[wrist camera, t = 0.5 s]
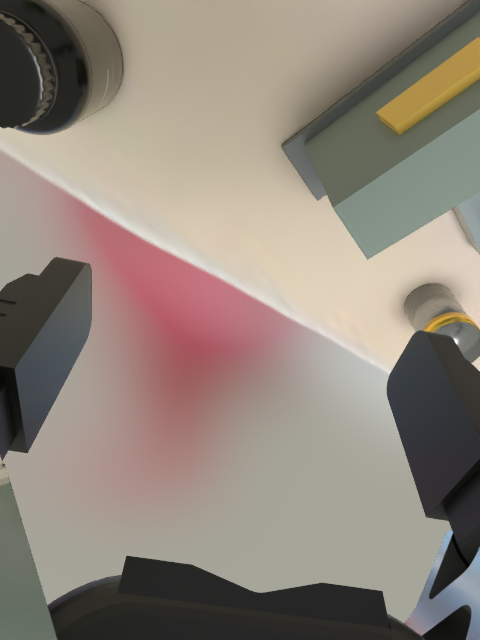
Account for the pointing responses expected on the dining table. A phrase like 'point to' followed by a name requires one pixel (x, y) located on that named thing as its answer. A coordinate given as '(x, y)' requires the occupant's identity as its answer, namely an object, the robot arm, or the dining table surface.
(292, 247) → the dining table surface
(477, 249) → the tray
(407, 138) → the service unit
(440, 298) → the grey gold-banded metal jar
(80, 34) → the supplement bottle
